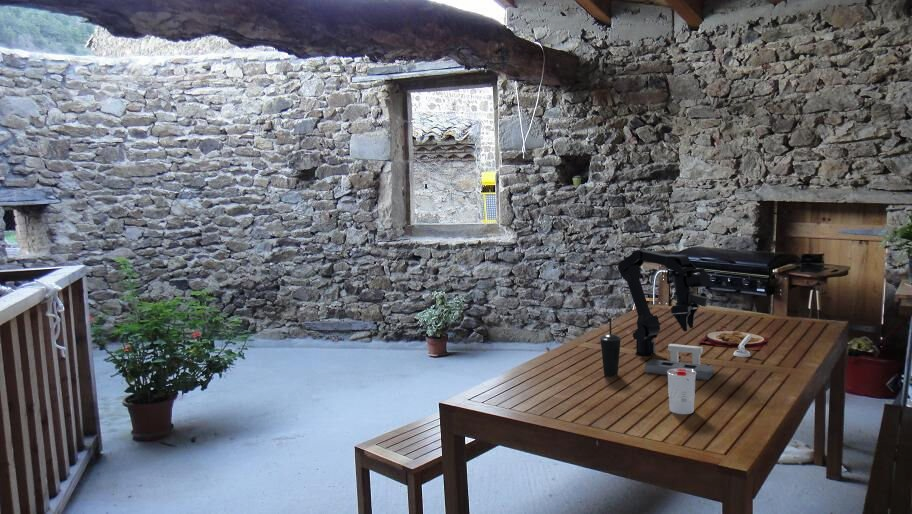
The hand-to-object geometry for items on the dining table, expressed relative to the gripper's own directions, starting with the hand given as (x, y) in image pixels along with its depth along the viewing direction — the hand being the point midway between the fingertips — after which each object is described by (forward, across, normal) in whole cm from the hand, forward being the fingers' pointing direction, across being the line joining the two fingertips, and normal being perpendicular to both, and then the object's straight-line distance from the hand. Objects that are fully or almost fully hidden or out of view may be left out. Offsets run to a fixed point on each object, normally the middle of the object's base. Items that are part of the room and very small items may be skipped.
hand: (688, 329), depth 250 cm
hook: (+14, +23, -13) cm, 30 cm away
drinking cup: (+12, -24, +23) cm, 36 cm away
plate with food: (+12, +46, -8) cm, 48 cm away
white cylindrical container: (+18, -52, -8) cm, 55 cm away
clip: (+13, 0, +3) cm, 13 cm away
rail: (+14, -13, +2) cm, 19 cm away
